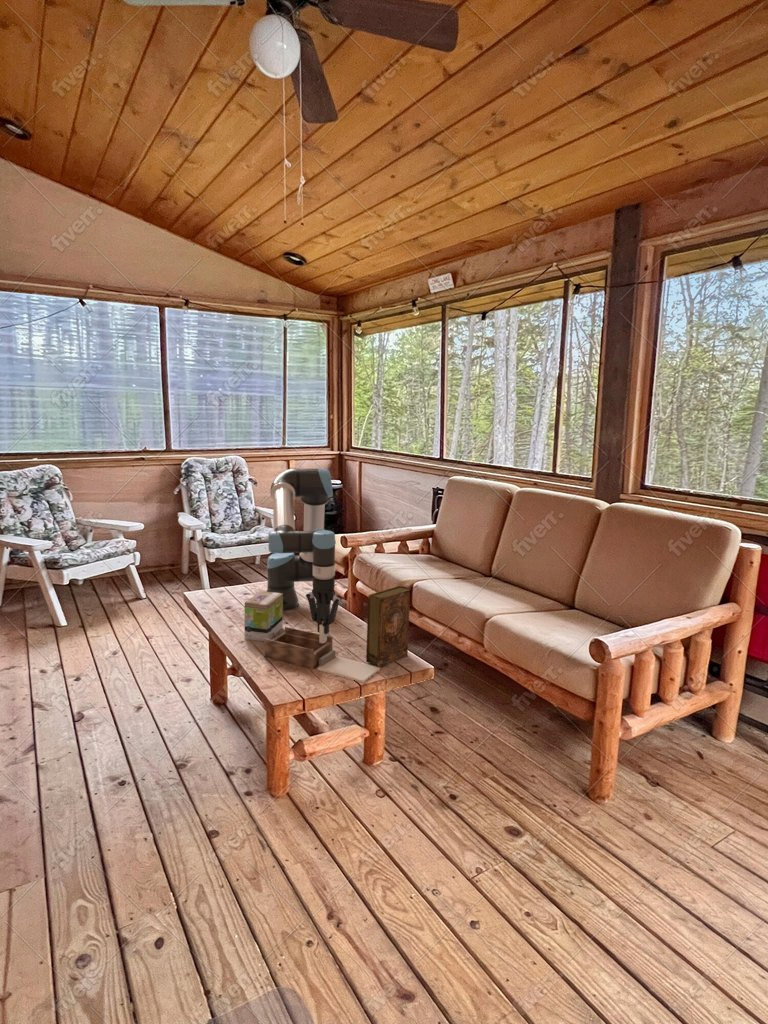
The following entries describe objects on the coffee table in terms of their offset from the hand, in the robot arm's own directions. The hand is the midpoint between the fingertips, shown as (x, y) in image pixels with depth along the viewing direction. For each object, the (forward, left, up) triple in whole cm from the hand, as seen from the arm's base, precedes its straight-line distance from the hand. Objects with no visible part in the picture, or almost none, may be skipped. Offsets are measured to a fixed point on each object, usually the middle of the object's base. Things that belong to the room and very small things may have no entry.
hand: (323, 641), depth 203 cm
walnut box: (0, -10, -7) cm, 12 cm away
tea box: (-11, -33, -8) cm, 35 cm away
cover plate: (+1, +11, -8) cm, 14 cm away
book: (-12, +20, -8) cm, 24 cm away
